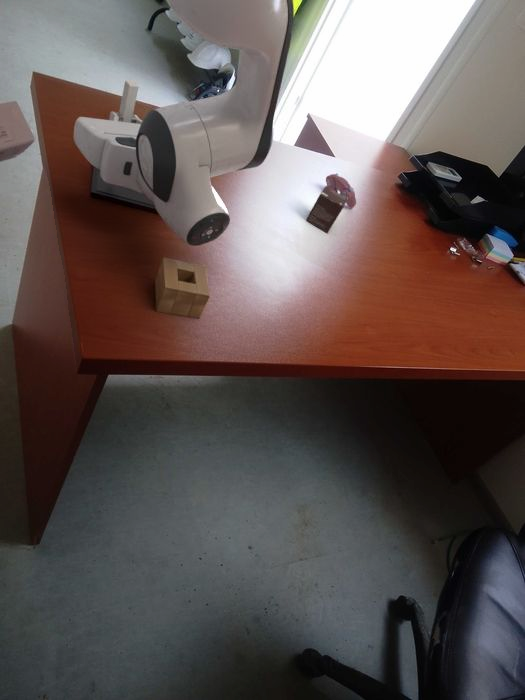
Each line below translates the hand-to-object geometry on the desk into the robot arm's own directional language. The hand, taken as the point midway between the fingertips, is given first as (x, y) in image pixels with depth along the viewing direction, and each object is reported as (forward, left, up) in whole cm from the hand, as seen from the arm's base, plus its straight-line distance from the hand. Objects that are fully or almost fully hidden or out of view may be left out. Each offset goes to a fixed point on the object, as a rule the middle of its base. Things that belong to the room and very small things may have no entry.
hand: (122, 117), depth 76 cm
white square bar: (0, -1, -9) cm, 9 cm away
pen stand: (+11, -29, -12) cm, 33 cm away
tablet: (+4, +3, -12) cm, 13 cm away
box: (+48, +7, -12) cm, 50 cm away
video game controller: (+58, +22, -12) cm, 63 cm away
